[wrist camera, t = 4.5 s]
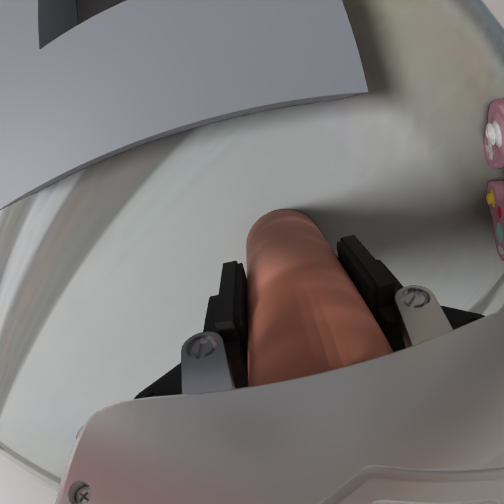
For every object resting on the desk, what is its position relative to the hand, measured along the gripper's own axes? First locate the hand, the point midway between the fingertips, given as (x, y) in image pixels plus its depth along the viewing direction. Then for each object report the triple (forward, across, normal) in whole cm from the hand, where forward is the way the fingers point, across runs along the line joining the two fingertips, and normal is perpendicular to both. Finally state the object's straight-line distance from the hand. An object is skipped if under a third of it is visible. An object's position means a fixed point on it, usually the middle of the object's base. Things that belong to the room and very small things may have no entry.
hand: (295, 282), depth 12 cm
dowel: (+4, 0, 0) cm, 4 cm away
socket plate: (+4, +5, -16) cm, 17 cm away
